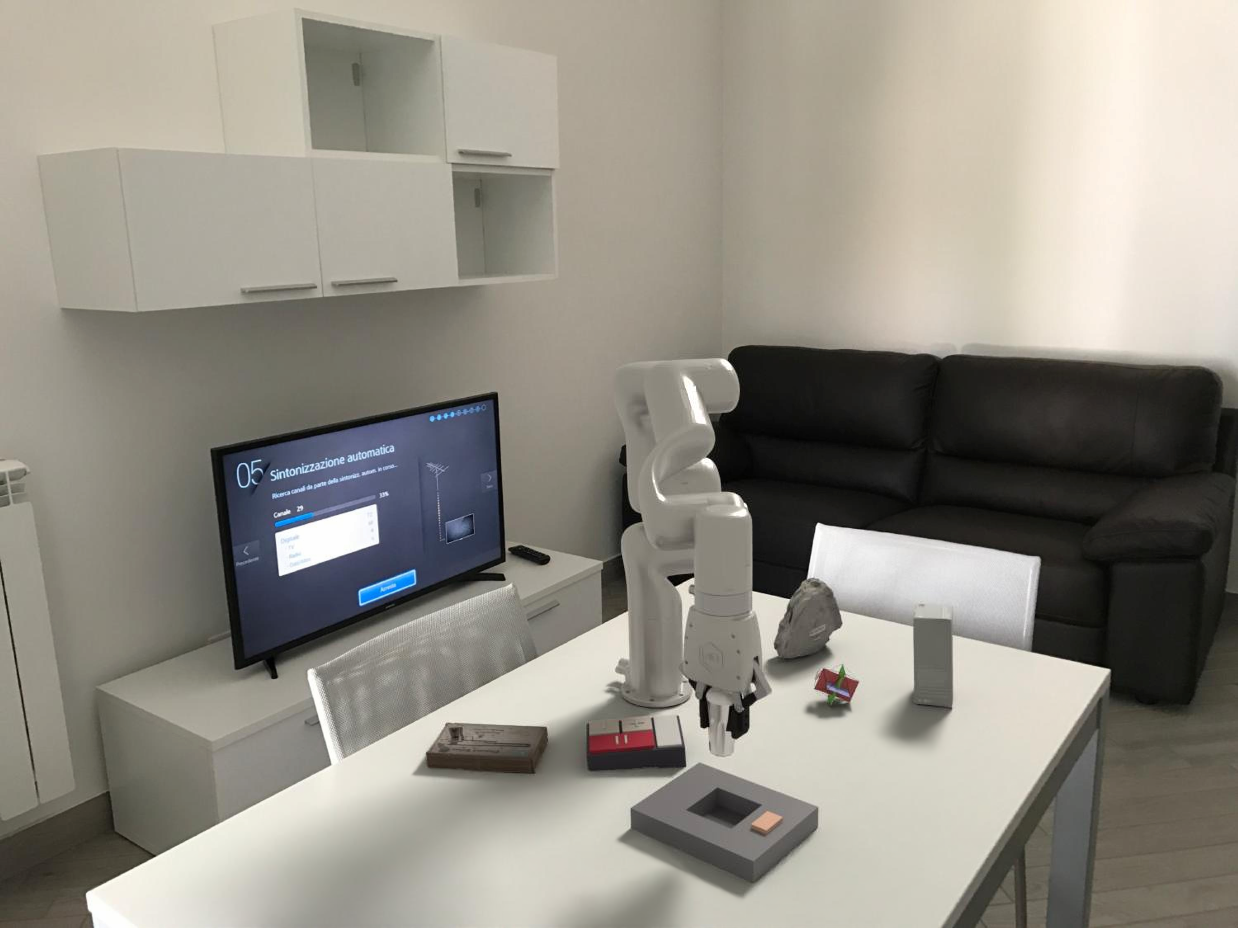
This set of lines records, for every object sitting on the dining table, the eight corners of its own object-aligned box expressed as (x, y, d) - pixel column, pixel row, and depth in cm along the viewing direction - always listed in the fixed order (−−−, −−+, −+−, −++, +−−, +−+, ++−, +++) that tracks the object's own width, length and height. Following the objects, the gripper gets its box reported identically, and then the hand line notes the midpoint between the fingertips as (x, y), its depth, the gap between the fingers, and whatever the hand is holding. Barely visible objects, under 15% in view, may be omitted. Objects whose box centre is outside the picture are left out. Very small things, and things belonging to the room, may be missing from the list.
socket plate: (630, 827, 141) (630, 803, 141) (699, 780, 153) (699, 758, 152) (753, 882, 129) (753, 856, 128) (818, 826, 140) (818, 802, 140)
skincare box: (952, 709, 174) (956, 621, 171) (908, 704, 176) (912, 617, 173) (953, 688, 182) (957, 604, 179) (911, 684, 184) (914, 600, 181)
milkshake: (743, 761, 135) (745, 691, 133) (702, 757, 136) (704, 688, 134) (745, 745, 140) (748, 677, 138) (706, 741, 141) (708, 673, 139)
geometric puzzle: (864, 682, 180) (837, 648, 179) (869, 699, 174) (842, 664, 173) (831, 704, 182) (804, 671, 181) (835, 722, 175) (807, 687, 174)
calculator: (585, 718, 167) (678, 710, 167) (588, 742, 168) (680, 734, 168) (585, 751, 156) (685, 742, 156) (588, 777, 157) (686, 768, 157)
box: (534, 777, 156) (533, 758, 156) (425, 770, 159) (424, 752, 158) (550, 742, 167) (549, 724, 166) (447, 737, 169) (446, 719, 169)
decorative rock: (825, 638, 206) (827, 566, 203) (850, 648, 201) (851, 575, 198) (764, 657, 198) (764, 583, 194) (788, 668, 192) (788, 592, 189)
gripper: (654, 595, 137) (657, 722, 140) (762, 621, 126) (762, 759, 129) (688, 581, 142) (690, 704, 146) (794, 605, 131) (793, 737, 135)
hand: (724, 728), depth 138 cm, fingers closed on milkshake, 4 cm apart
